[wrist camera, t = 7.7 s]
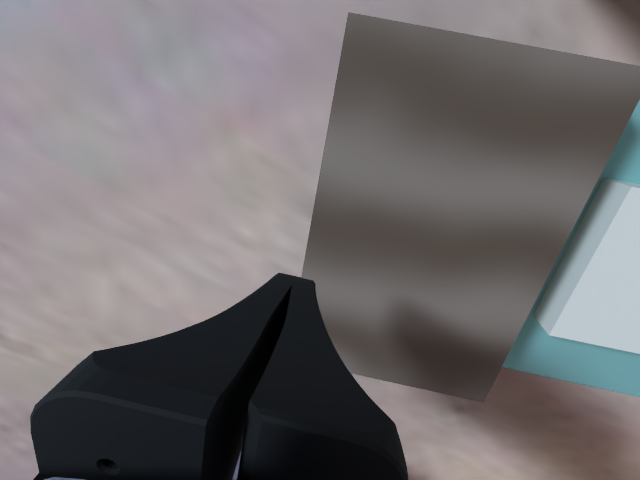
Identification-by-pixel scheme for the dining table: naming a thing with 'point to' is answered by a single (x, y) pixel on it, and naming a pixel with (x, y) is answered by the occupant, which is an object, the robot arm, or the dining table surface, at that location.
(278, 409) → the robot arm
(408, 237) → the grey flat block
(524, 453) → the dining table surface
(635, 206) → the white block
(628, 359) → the mat
